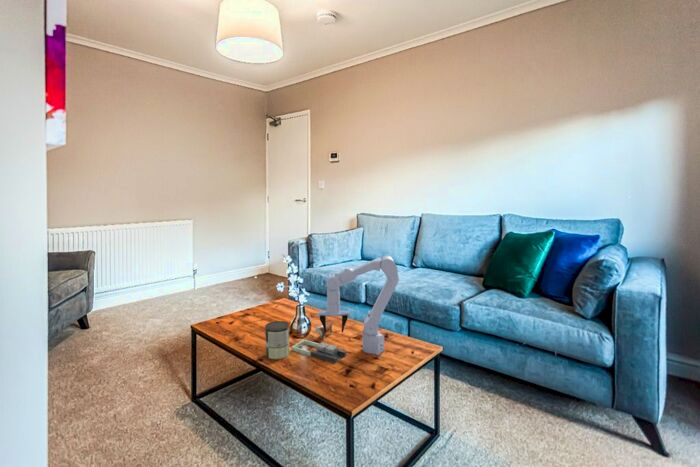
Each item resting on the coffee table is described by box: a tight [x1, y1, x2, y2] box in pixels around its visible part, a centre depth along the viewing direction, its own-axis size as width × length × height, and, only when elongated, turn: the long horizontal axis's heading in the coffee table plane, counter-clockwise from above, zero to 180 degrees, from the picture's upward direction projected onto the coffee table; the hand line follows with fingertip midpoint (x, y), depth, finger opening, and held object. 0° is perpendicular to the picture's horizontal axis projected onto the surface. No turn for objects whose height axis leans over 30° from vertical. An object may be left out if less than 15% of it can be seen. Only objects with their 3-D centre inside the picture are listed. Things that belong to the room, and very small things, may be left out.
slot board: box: [310, 348, 347, 364], centre depth 161 cm, size 13×9×3 cm
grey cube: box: [325, 344, 339, 357], centre depth 160 cm, size 4×4×4 cm
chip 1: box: [316, 342, 330, 354], centre depth 163 cm, size 4×4×4 cm
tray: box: [291, 339, 320, 357], centre depth 168 cm, size 11×9×2 cm
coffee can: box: [264, 320, 290, 360], centre depth 162 cm, size 10×10×14 cm
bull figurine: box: [313, 320, 333, 341], centre depth 181 cm, size 4×13×8 cm, turn 152°
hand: (333, 331), depth 166 cm, fingers open, 7 cm apart
